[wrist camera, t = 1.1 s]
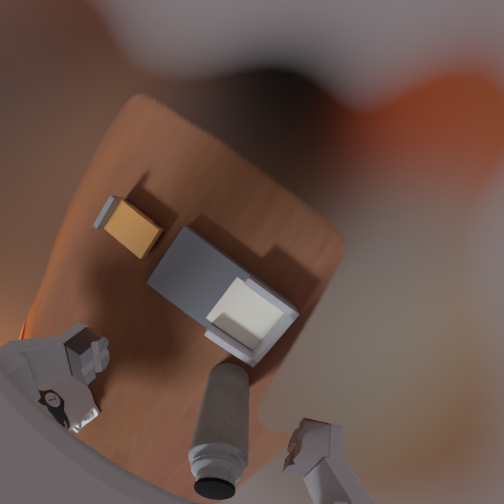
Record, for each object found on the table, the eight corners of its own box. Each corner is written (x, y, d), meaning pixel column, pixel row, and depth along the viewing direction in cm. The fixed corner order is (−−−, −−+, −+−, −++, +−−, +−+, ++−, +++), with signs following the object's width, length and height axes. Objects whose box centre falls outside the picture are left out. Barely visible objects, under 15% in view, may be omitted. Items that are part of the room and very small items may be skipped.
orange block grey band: (147, 256, 48) (134, 261, 42) (109, 224, 47) (93, 225, 41) (165, 229, 47) (154, 230, 41) (125, 197, 46) (110, 195, 40)
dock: (253, 352, 50) (253, 367, 44) (151, 279, 48) (139, 286, 42) (293, 303, 49) (299, 314, 43) (188, 225, 47) (179, 226, 41)
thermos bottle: (223, 400, 51) (207, 509, 23) (200, 372, 50) (167, 481, 23) (256, 385, 51) (260, 498, 23) (235, 356, 50) (222, 469, 22)
